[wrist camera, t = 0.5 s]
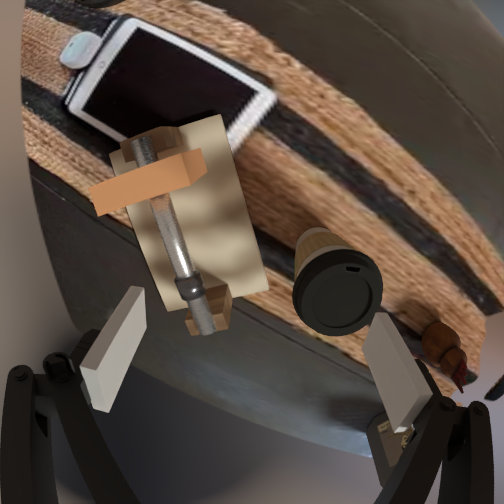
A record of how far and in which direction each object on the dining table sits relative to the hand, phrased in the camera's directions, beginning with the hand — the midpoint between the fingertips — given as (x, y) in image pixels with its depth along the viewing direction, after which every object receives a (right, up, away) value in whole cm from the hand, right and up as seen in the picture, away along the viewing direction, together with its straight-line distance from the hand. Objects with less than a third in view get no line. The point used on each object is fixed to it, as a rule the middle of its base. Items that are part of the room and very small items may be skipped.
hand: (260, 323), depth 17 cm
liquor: (+31, -35, +43) cm, 63 cm away
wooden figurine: (+33, -11, +33) cm, 48 cm away
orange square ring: (-11, +14, +19) cm, 26 cm away
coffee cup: (+9, +5, +27) cm, 29 cm away
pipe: (-9, +6, +19) cm, 22 cm away
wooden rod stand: (-9, +8, +26) cm, 28 cm away
